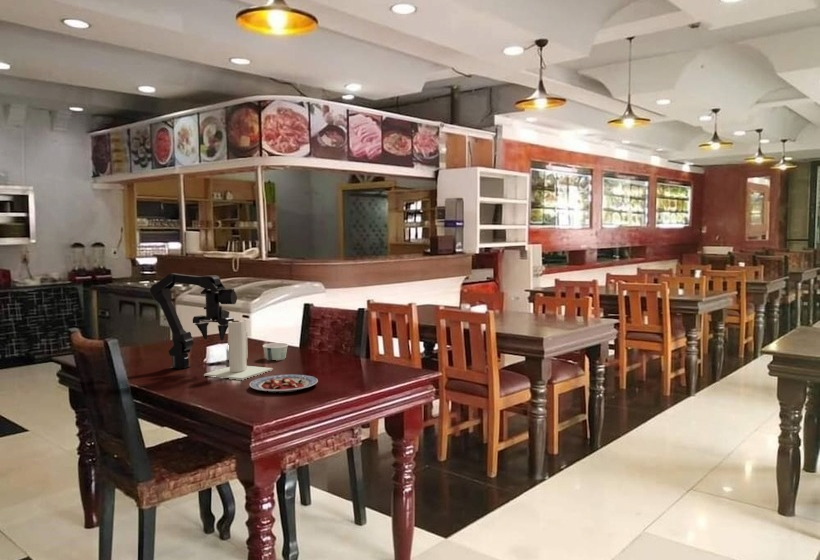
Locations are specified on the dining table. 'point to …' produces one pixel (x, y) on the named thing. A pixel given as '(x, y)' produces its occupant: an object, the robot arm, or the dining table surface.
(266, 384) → the ceramic plate
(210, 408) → the dining table surface
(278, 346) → the food container
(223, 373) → the sage board
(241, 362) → the paper towel roll
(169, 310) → the robot arm
